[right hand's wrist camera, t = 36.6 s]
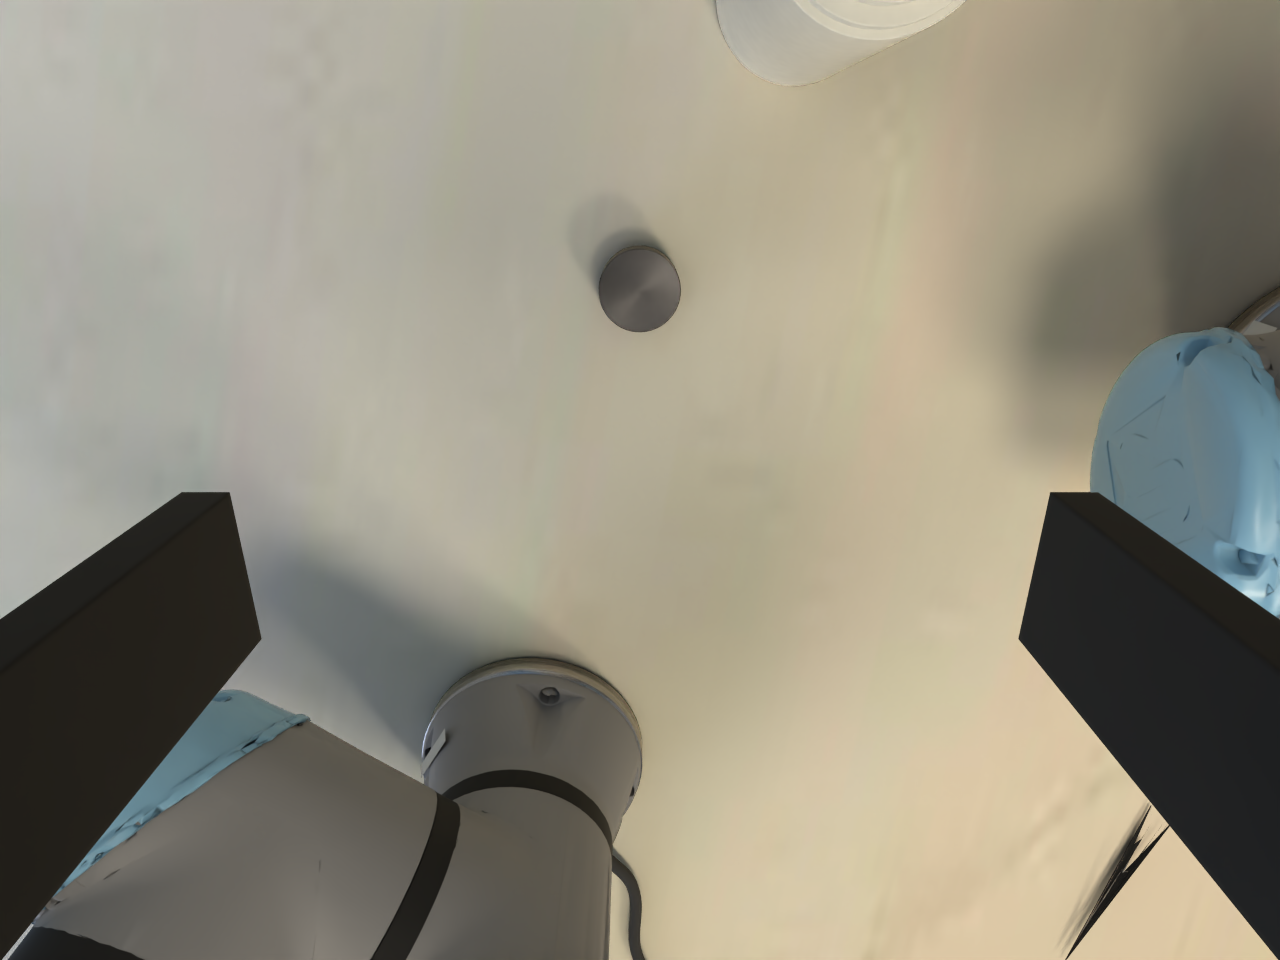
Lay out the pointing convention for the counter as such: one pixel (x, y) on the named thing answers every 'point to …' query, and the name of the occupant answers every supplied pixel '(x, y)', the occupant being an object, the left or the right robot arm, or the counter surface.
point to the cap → (639, 289)
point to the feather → (1117, 881)
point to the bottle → (820, 33)
